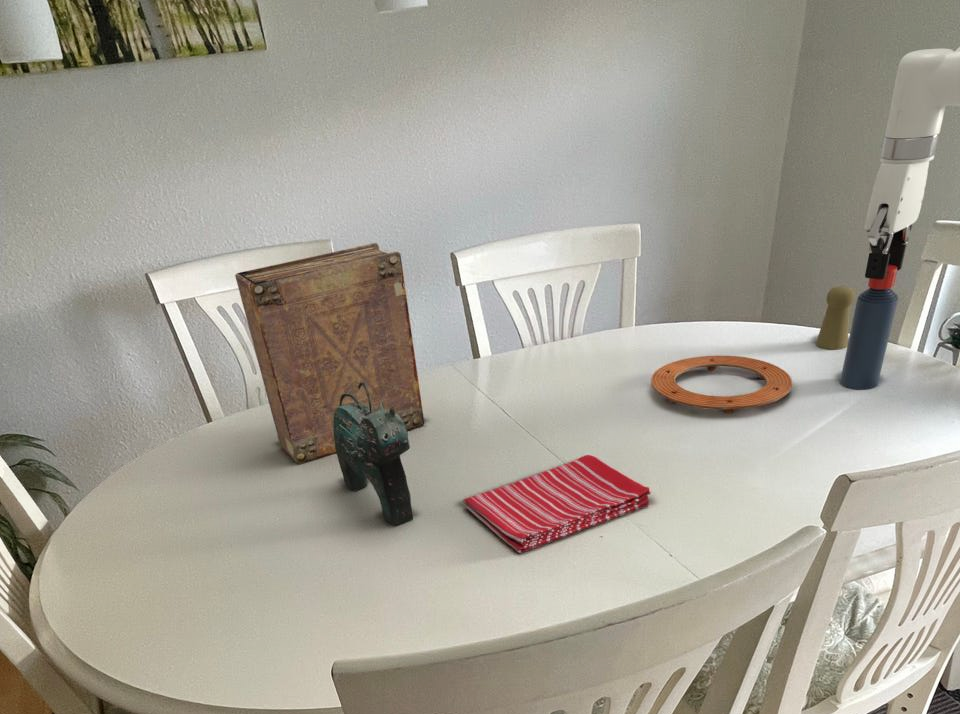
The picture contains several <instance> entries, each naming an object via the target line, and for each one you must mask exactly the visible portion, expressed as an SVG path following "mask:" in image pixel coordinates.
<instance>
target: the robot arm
mask: <svg viewBox="0 0 960 714" xmlns="http://www.w3.org/2000/svg"><path fill="white" fill-rule="evenodd" d="M946 107H960V46H959V47H958V48H957V49H955V51H954V50H953V49H950V48H944V47H942V48H926V49H918V50H914V51H910V52H908V53H906V54H904V56H903V57H902V58H901V60H900V62H899V64H898V68H897V72H896V77H895V83H894V88H893V92H892V98H891V103H890V108H889V112H888V113H889V114H888V119H887V125H886V129H885V135H884V139H883V145H882V151H881V154H880V155H881V156H880V160H879V161H880V165H879V169H878V171H877V175H876V178H875V180H874V184H873V188H872V192H871V196H870V200H869V203H868V208H867V212H866V217H865V222H864V226H863V227H864V231H865V232H866V233H868V234H867V239H868V243H869V248H868V258H867V263H866V268H865V273H864V278H865V279H869V278H871V279H879V280H882V279H884V278H885V276H886V271H887V266H888V265H894V266H897V272H898V271H900V270H902V268H903V262H904V260H905V259H904V258H905V254H906V250H907V245H908V242H909V239H910V231H911V230H912V228H913V224H914V223H915V222H917V220H918V218H919V216H920V212H921V208H922V205H923V200H924V196H925V190H926V187H927V186H926V185H927V180H928V174H929V166H930V161H932V160H933V161H934V159H935V154H936V150H937V146H938V142H939V137H940V133H941V129H942V124H943V119H944V114H945V111H946ZM883 229H887V231H883ZM883 237H886V238H885V239H884V238H883Z"/></svg>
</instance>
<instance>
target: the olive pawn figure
mask: <svg viewBox="0 0 960 714" xmlns="http://www.w3.org/2000/svg"><path fill="white" fill-rule="evenodd" d="M825 300H826V304H827V308H826V311H825V314H824V317H823V320H822V323H821V326H820V330H819V332H818V335H817V338H816V342H815V346H817V347H818V348H820V349H823V350H843V349H845V348H847V346H848V341H849V330H850V329H849V328H850V314H851V306H852V305H853V304H854V302H855V300H856V292H855V289H854V288H852V287H850V286H844V285H843V286H841V285H840V286H835V287H832V288H831V289H830V290H829V291H828V292H827V294H826V299H825Z"/></svg>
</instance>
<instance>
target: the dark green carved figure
mask: <svg viewBox="0 0 960 714" xmlns="http://www.w3.org/2000/svg"><path fill="white" fill-rule="evenodd" d="M361 386H363V387H364V388H365V390H366V393H367V396H368V400H369V407H368V406H366V405H364V404H360V403H359V401H358V400H357V399H356V398H355V397H354V396H353V395H351V394H349V393H345V394H342V396H341V398H340V406H339V407H338V408H337V409H336V411H335V413H334V420H333V428H334V439H335V449H336V453H335V454H336V456H337V460H338V464H339V468H340V471H341V474H342V478H343V482H344V484H345V486H346V487H347V489H348V490H350V491H351V492H357V491H359V490H363V489H365V488H366V487H368V481H369V482H370V484H371V485H372V487H373V489H374V492H375V493H376V495H377V497H378V500H379V503H380V507H381V513H382V517H383V519H384V520H385V521H387V522H388V523H390V525H391V526H393V527H398V526H400V525H403V524H405V523H407V522H410V521H412V520H414V516H413V509H412V508H413V507H412V501H411V499H412V498H411V497H412V496H411V491H410V488H409V485H408V481H407V476H406V471H405V468H404V465H403V463H402V459H401V455H402V454H404V453H406V452H408V451H409V450H410V448H411V445H410V440H409V435H408V434H409V433H408V431H407V430H406V427H405V425H404V423H403V421H402V419H401V418H400V416H399V415H398V414H397V413H396V412H395V411H394V407H392V408H390V409H389V410H385V409H384V407H383V401H382V402H381V403H380V404H379V406H378V408H377V410H376V411H375V412H373V411H372V410H371V409H372V407H371V401H370V396H369V391H368V389H367V387H366V385H365V382H361V383H359V386H358V388H359V389H360V387H361ZM346 396H348V397H351V398H353V399H354V401H355V402H353V403H349V404H346V405H344V406H342V401H343V399H344V397H346Z"/></svg>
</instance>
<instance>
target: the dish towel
mask: <svg viewBox="0 0 960 714" xmlns="http://www.w3.org/2000/svg"><path fill="white" fill-rule="evenodd" d="M648 495H651V491H650V487H649V486H646V485H645V486H644V485H643V484H641V483H639V482H638V481H636V480H634V479H632V478H630V477H629V476H627V475H625V474H624V473H622V472H620V471H618V470H616V469H615V468H613V467H611V466H610V465H609V464H607V463H605V462H603V461H602V460H600V459H599V458H598V457H596V456H594V455H590V454H586V455H583V456H581V457H579V458H576V459H574V460H571V461H570V462H566V463H564V464H559V465H558V466H555V467H553V468H550V469H546V470H544V471H542V472H539V473H536V474H533V475H530V476H528V477H525V478H523V479H519V480H517V481H515V482H512V483H509V484H505V485H502V486H501V487H497V488H494V489H491V490H487V491H485V492H481V493H476V494H474V495H472V496H468V497H466V498H464V499H463V500H462V502H463V504H464V506H465V509H467V510H468V511H469V512H471V513H472V514H473V515H474V516H475V517H476V518H477V519H478V520H480V521H481V522H482V523H483V524H484V525H486V526H487V527H488V528H489V529H490V530H491V531H492V532H494V534H496V535H497V536H498V537H499V538H500V539H501V540H503V541H504V542H505V543H506V544H507V545H509V546H511V547H512V548H513V549H514V550H515V551H516V552H517V553H520V554H521V553H522V554H523V553H524V552H527V551H530V550H533V549H535V548H538V547H541V546H543V545H546V544H549V543H551V542H553V541H556V540H559V539H563V538H565V537H567V536H569V535H570V536H571V535H572V534H575V533H579V532H581V531H582V530H585V529H588V528H589V529H590V528H592V527H595V526H597V525H599V524H602V523H605V522H608V521H610V520H612V519H615V518H618V517H621V516H625V515H626V514H629V513H632V512H635V511H637V510H640V509H642V508H645V507H648V506H649V505H650V499H649V496H648Z"/></svg>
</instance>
